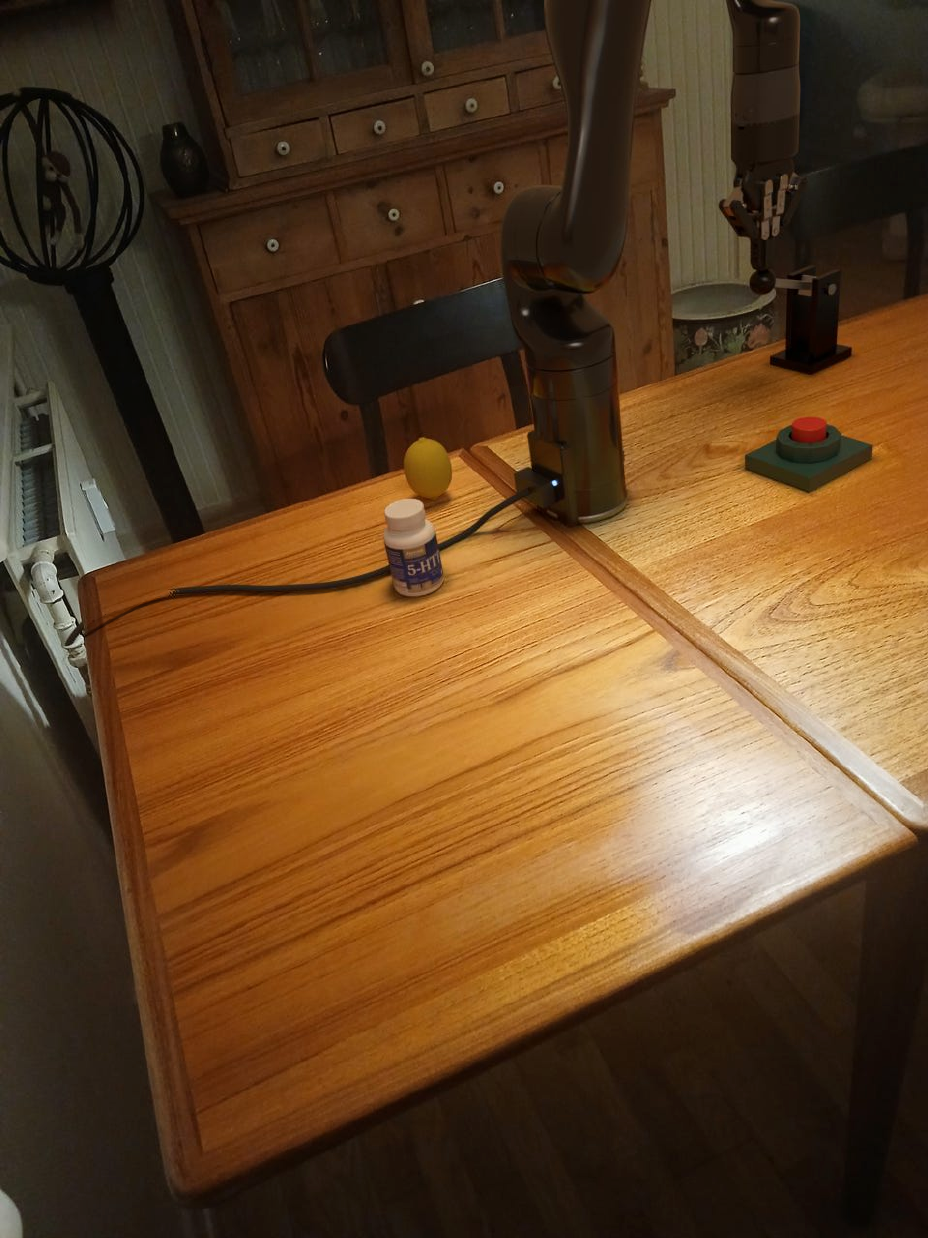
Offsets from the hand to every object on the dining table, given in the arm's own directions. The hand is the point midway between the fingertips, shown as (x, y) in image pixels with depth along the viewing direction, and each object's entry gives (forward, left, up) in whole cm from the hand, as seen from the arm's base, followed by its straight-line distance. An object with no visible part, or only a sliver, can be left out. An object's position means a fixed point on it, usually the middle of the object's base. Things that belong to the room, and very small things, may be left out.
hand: (762, 268), depth 118 cm
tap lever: (+4, 0, -5) cm, 6 cm away
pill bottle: (-58, -8, -15) cm, 61 cm away
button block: (-14, -20, -15) cm, 29 cm away
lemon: (-47, +7, -15) cm, 50 cm away
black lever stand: (+10, 0, -15) cm, 18 cm away
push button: (-14, -20, -12) cm, 27 cm away
